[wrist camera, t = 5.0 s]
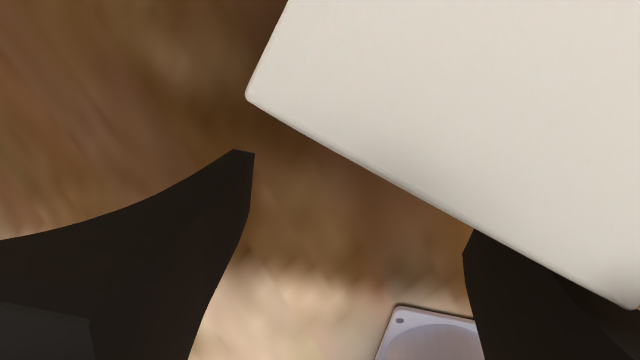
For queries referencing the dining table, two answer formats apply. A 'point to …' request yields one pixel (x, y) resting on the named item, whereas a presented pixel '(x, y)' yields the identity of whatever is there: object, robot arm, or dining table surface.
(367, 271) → the dining table surface
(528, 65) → the supplement box
